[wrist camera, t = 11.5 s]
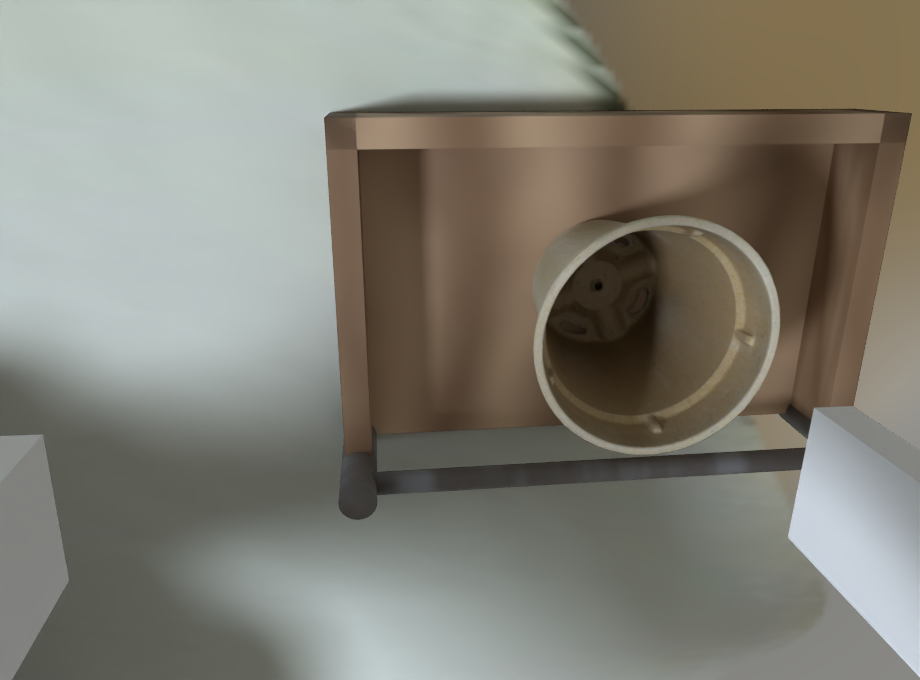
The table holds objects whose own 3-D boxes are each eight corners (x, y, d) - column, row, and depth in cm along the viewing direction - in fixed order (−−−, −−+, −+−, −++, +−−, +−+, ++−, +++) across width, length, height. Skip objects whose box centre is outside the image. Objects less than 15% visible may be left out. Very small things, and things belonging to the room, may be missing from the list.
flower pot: (498, 184, 33) (538, 220, 25) (698, 179, 34) (799, 212, 26) (496, 376, 36) (531, 462, 28) (679, 366, 37) (763, 447, 29)
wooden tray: (345, 442, 38) (339, 520, 31) (325, 112, 32) (312, 122, 26) (803, 418, 40) (886, 486, 34) (858, 108, 35) (970, 117, 28)
